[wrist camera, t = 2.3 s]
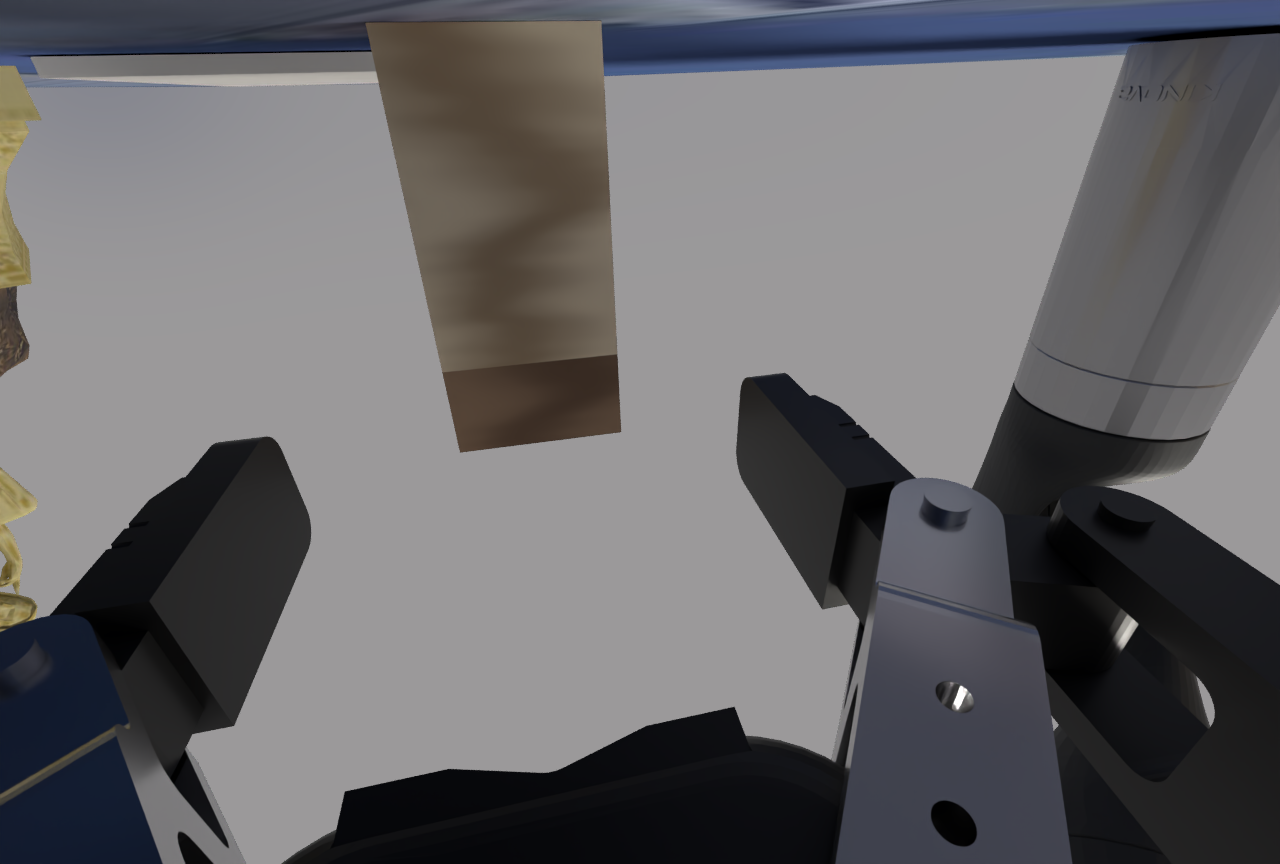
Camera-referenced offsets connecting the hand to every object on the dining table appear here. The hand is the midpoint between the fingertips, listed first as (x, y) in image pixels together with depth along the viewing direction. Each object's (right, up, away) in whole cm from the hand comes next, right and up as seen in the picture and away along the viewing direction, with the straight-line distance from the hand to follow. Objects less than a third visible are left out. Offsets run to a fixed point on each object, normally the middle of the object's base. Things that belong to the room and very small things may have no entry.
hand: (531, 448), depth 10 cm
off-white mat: (-12, +18, +17) cm, 27 cm away
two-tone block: (-2, +12, +6) cm, 13 cm away
